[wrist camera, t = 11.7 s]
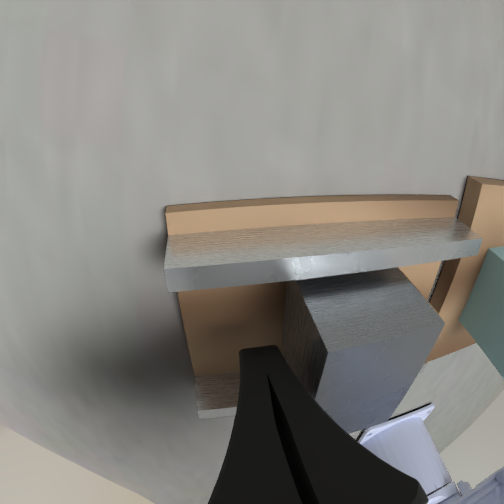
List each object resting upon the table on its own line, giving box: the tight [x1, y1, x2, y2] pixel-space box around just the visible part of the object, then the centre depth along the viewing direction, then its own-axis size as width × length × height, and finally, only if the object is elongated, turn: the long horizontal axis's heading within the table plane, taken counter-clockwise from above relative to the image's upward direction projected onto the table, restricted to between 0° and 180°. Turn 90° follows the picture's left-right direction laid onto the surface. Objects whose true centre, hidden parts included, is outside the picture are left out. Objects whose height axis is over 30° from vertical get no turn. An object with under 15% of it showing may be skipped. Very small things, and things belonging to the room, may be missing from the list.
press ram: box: [281, 267, 445, 433], centre depth 11 cm, size 6×5×4 cm
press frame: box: [164, 176, 504, 419], centre depth 13 cm, size 12×22×3 cm, turn 90°
